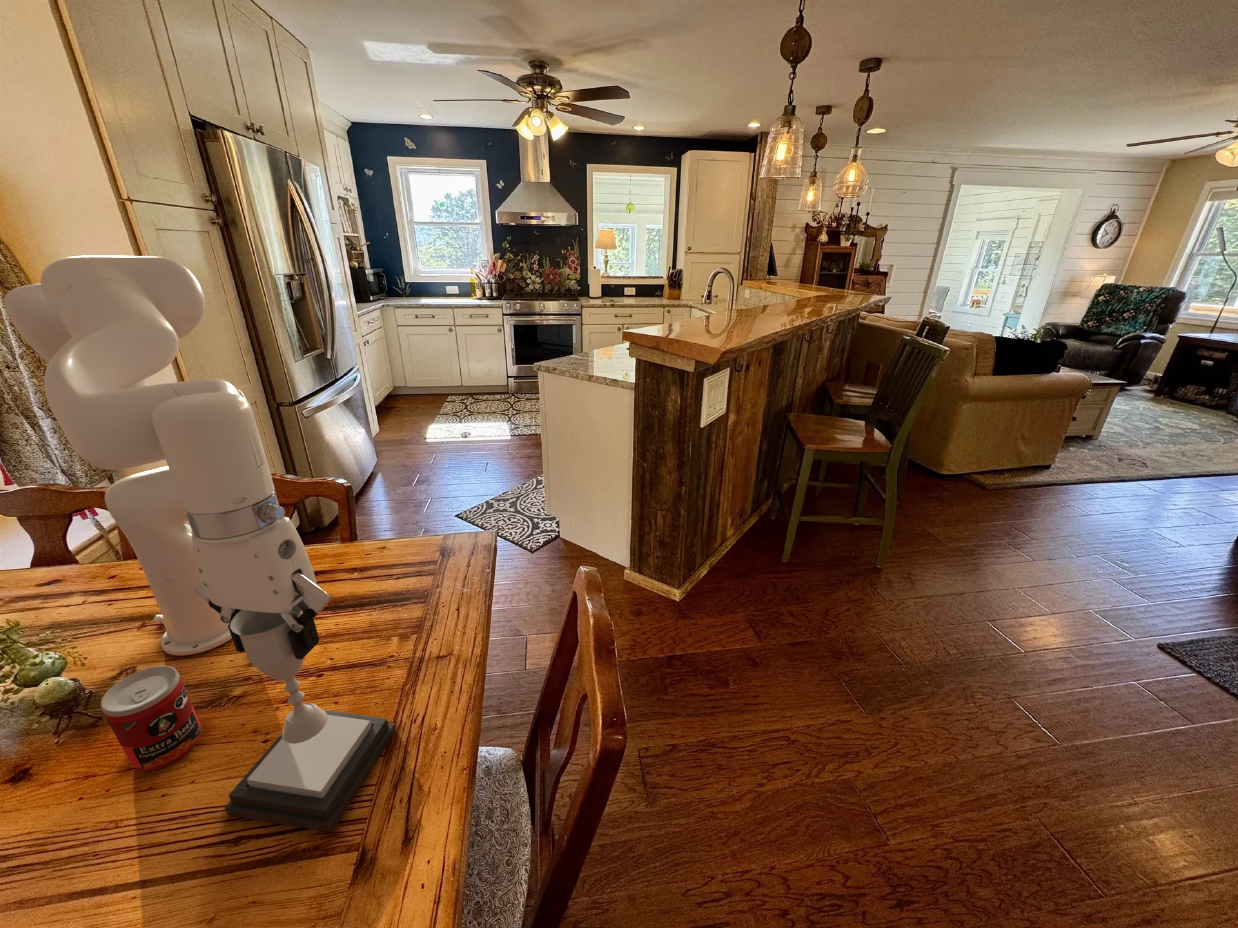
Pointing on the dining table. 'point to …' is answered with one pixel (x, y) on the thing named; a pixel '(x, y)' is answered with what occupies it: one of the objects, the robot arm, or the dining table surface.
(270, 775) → the pan
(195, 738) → the canned food
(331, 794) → the scale
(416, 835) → the dining table surface
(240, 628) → the chalice
